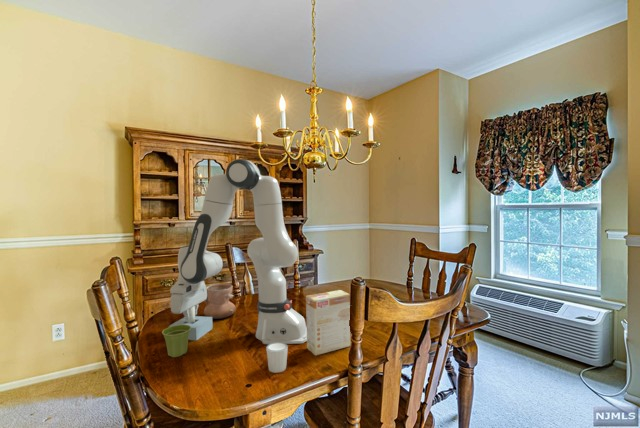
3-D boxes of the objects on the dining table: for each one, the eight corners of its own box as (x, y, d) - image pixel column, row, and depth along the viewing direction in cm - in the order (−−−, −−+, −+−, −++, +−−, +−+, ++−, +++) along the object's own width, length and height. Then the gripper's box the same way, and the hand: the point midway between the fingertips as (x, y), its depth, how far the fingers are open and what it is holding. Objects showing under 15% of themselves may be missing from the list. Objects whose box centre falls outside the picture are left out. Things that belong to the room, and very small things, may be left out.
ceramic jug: (244, 314, 152) (243, 285, 151) (220, 324, 139) (219, 292, 139) (218, 308, 161) (217, 281, 160) (194, 317, 148) (193, 287, 148)
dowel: (194, 324, 131) (193, 300, 131) (195, 326, 129) (195, 302, 128) (186, 325, 130) (185, 301, 130) (187, 328, 127) (186, 303, 127)
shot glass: (288, 362, 104) (288, 341, 104) (287, 373, 97) (287, 351, 97) (268, 363, 104) (267, 342, 104) (265, 374, 97) (264, 351, 97)
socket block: (212, 328, 134) (212, 317, 134) (196, 340, 123) (196, 327, 122) (187, 327, 137) (186, 315, 136) (169, 338, 125) (168, 326, 125)
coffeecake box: (341, 339, 122) (340, 289, 121) (351, 346, 115) (350, 293, 115) (306, 348, 114) (305, 295, 114) (315, 356, 108) (314, 300, 108)
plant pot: (160, 361, 106) (159, 336, 106) (165, 349, 115) (164, 326, 115) (190, 357, 109) (189, 332, 108) (193, 346, 118) (192, 323, 117)
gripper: (197, 277, 140) (198, 308, 140) (167, 290, 120) (167, 326, 120) (210, 278, 138) (211, 309, 139) (182, 290, 118) (182, 326, 119)
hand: (190, 317), depth 129 cm, fingers closed on dowel, 3 cm apart
